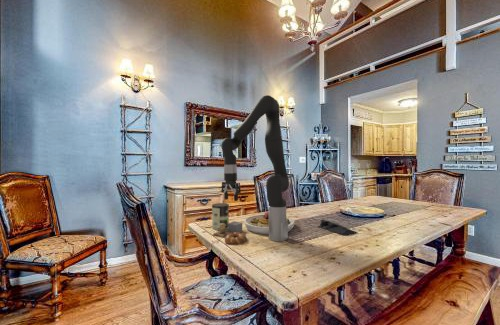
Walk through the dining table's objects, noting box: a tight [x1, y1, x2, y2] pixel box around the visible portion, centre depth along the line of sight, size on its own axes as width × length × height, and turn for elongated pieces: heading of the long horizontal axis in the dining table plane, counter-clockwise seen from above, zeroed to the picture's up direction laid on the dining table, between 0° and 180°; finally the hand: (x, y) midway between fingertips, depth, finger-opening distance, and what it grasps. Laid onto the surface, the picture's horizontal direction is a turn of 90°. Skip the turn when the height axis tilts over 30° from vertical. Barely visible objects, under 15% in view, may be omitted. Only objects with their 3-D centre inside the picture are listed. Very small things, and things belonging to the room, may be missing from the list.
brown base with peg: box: [212, 223, 231, 239], centre depth 126 cm, size 7×7×6 cm
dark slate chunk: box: [316, 219, 359, 236], centre depth 133 cm, size 15×22×5 cm
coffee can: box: [211, 202, 230, 231], centre depth 139 cm, size 10×10×14 cm
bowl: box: [244, 210, 295, 236], centre depth 138 cm, size 30×30×8 cm
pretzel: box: [224, 232, 248, 245], centre depth 116 cm, size 12×11×4 cm
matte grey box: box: [227, 221, 243, 233], centre depth 131 cm, size 6×6×5 cm
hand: (231, 200), depth 132 cm, fingers open, 8 cm apart
